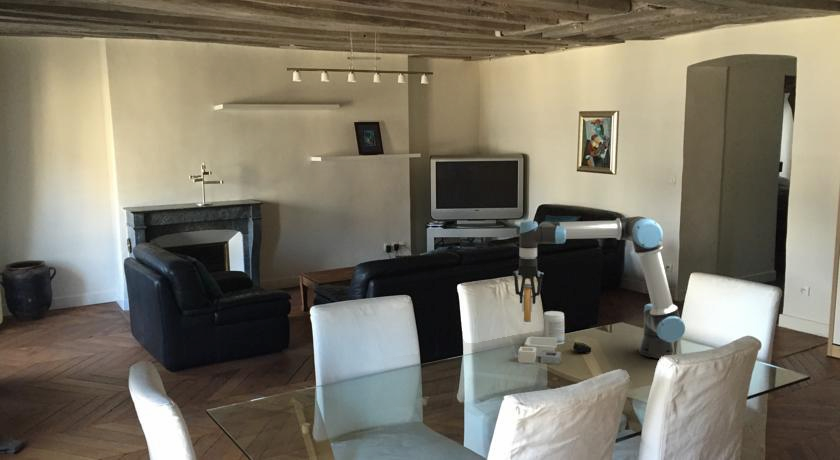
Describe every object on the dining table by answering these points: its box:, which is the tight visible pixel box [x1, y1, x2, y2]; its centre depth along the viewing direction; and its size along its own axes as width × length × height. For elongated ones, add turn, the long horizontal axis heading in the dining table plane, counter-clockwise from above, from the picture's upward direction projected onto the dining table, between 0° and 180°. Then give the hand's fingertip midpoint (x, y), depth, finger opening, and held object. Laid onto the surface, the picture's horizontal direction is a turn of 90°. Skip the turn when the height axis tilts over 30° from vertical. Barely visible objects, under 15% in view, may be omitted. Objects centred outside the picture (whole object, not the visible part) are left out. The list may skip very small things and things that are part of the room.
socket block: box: [517, 346, 537, 364], centre depth 314 cm, size 7×7×5 cm
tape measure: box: [573, 341, 592, 354], centre depth 324 cm, size 7×7×4 cm
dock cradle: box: [523, 335, 558, 357], centre depth 326 cm, size 13×14×5 cm
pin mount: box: [540, 351, 562, 365], centre depth 313 cm, size 8×8×3 cm
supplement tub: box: [543, 310, 565, 345], centre depth 338 cm, size 10×10×15 cm
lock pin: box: [523, 283, 532, 323], centre depth 311 cm, size 4×4×16 cm
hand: (527, 310), depth 311 cm, fingers closed on lock pin, 3 cm apart
